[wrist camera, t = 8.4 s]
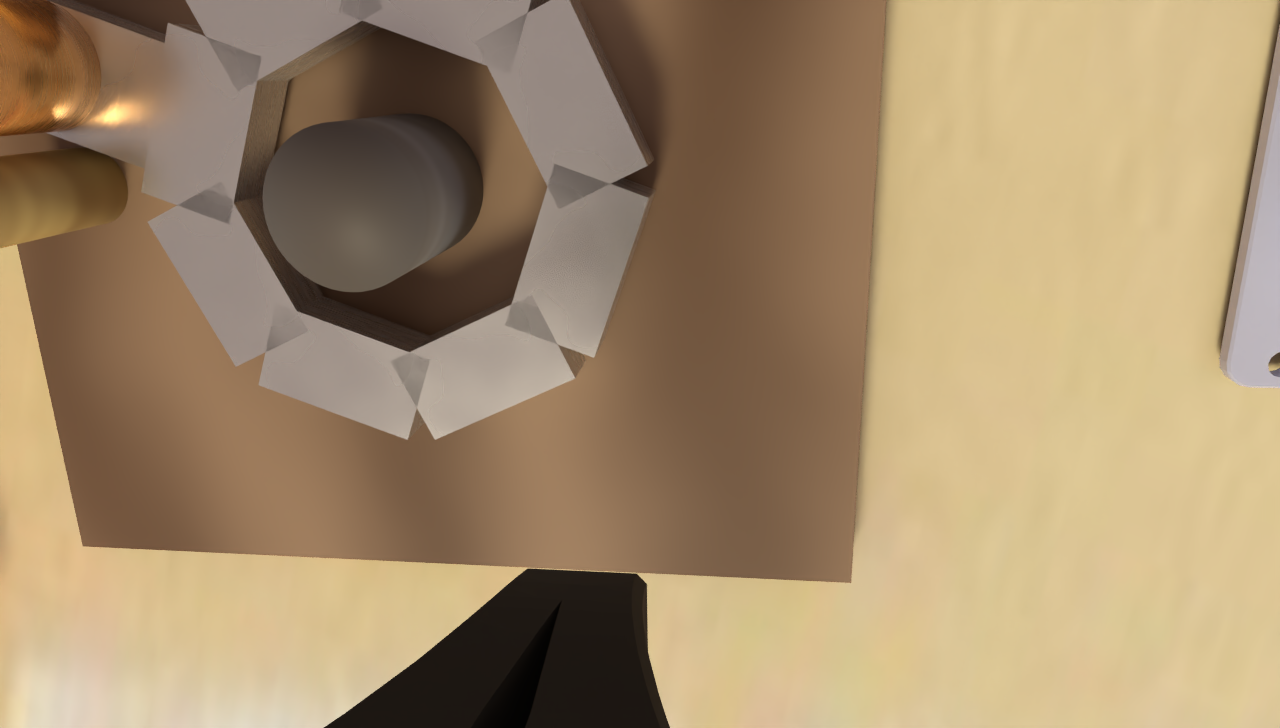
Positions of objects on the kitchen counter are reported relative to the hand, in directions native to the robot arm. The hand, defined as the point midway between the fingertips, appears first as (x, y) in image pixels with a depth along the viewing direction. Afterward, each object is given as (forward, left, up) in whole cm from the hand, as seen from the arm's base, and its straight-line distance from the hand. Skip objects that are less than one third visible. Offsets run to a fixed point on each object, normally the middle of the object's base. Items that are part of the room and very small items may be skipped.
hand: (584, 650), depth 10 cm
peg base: (+5, -4, -10) cm, 12 cm away
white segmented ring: (+7, -5, -9) cm, 12 cm away
